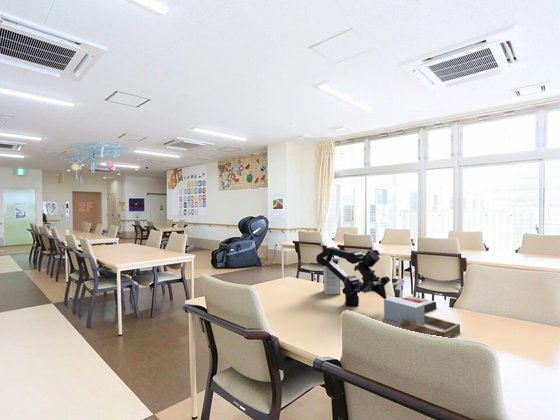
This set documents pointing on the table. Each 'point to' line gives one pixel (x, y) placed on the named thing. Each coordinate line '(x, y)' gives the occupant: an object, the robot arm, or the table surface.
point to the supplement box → (331, 282)
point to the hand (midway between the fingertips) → (385, 298)
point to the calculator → (428, 304)
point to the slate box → (403, 310)
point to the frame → (450, 328)
